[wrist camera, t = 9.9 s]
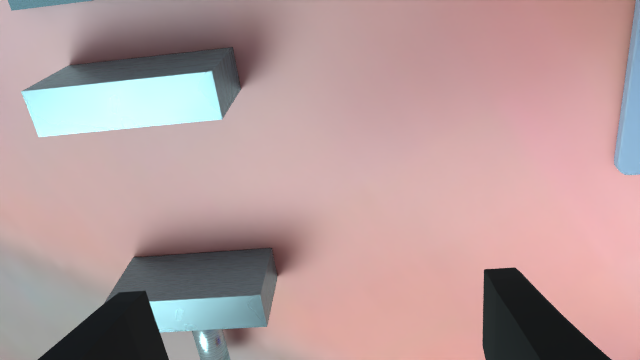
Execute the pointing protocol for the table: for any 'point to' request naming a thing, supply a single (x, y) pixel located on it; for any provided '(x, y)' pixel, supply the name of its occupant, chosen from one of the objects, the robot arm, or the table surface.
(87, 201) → the table surface
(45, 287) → the table surface
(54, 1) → the slate mat
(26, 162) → the table surface
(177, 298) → the vise jaws
